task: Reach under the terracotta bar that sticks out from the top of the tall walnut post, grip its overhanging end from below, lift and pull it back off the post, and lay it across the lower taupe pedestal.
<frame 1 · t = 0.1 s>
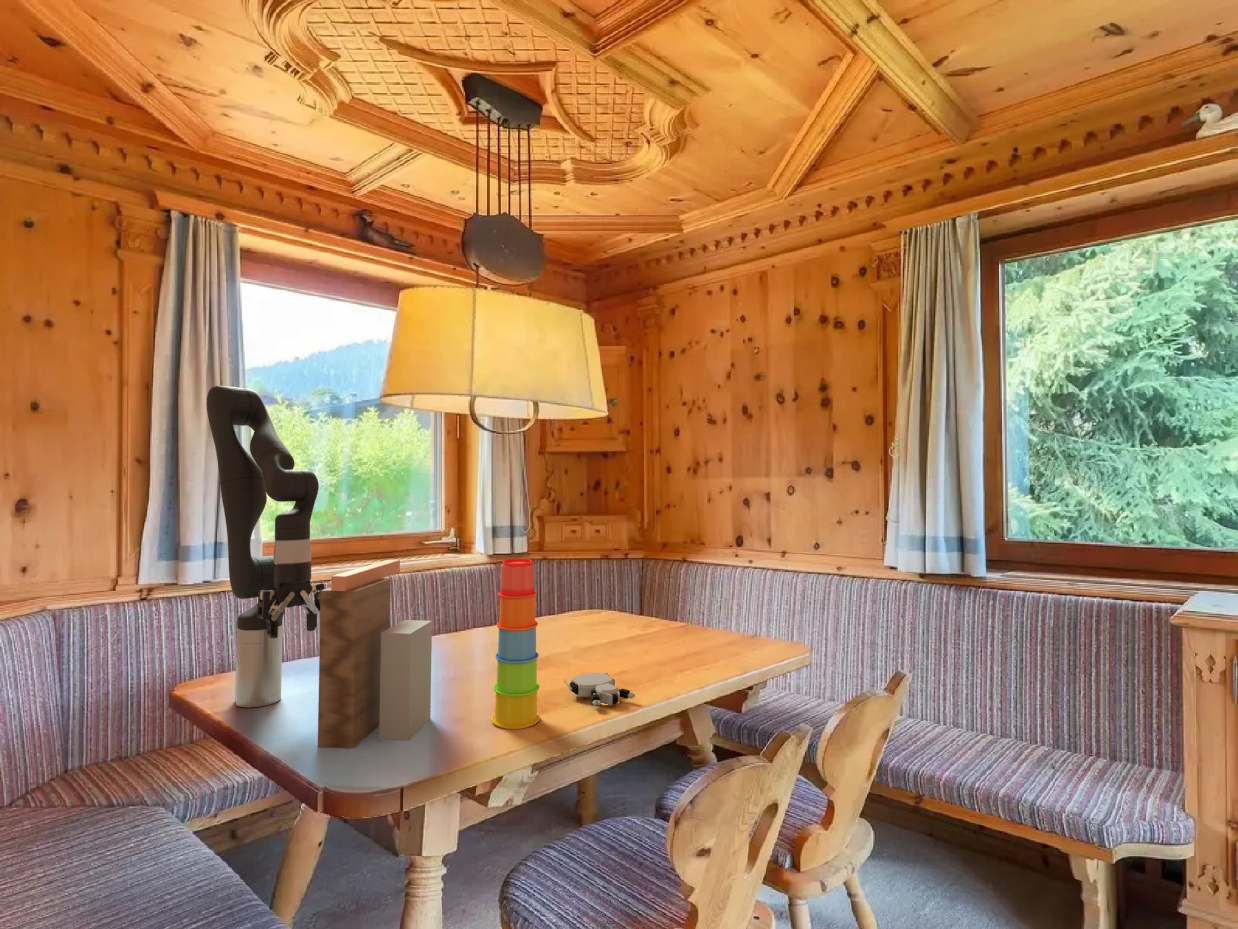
hand: (292, 634, 148), 17 cm above the table, tool pointing down, fingers open, 8 cm apart
taupe pedestal: (405, 728, 139), on the table
walnut post: (354, 732, 137), on the table
terracotta bar: (368, 580, 143), point 30 cm above the table, touching walnut post
robot toy: (599, 701, 159), on the table
stacking cups: (515, 721, 144), on the table
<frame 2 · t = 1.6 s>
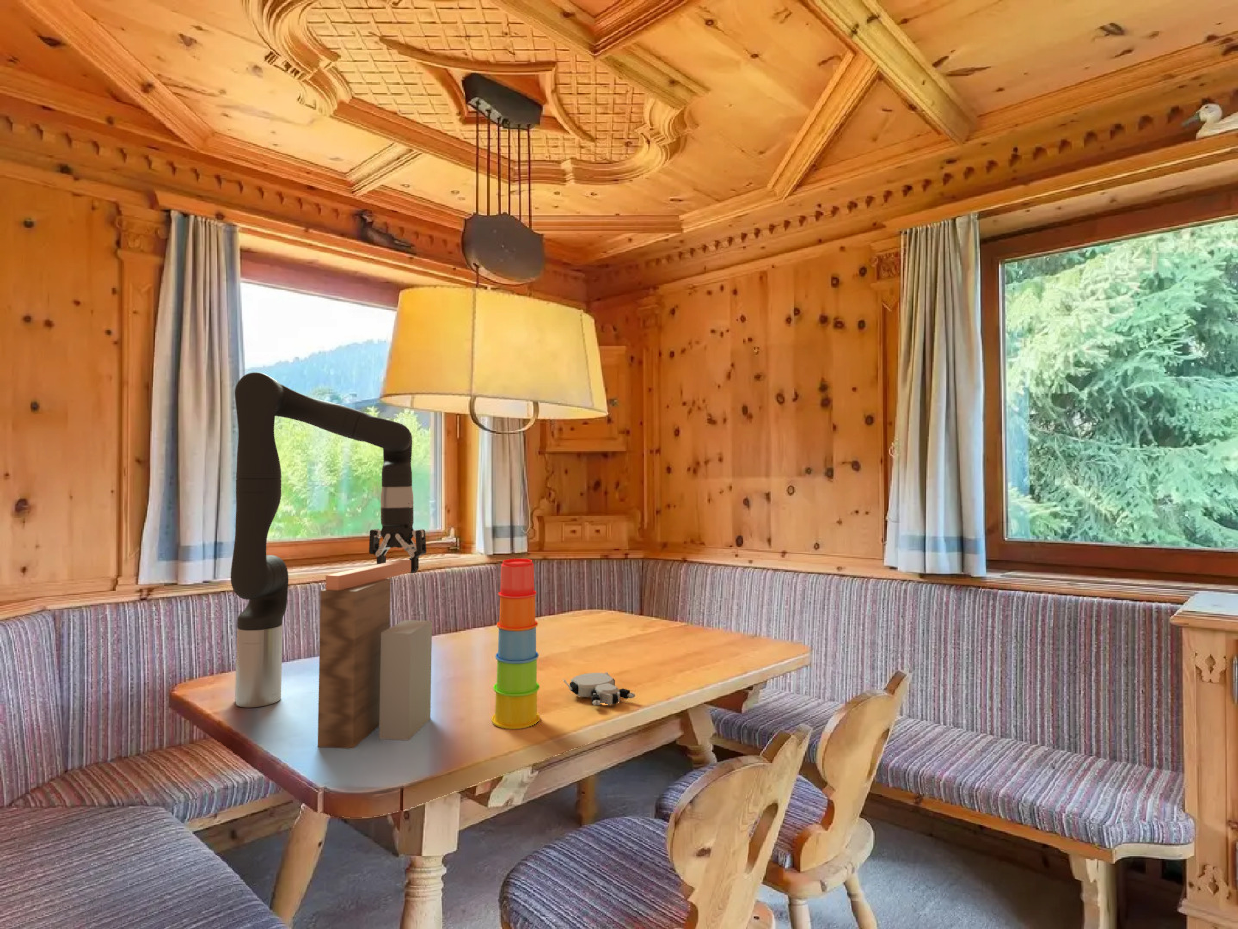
hand: (397, 572, 163), 29 cm above the table, tool pointing down, fingers open, 8 cm apart
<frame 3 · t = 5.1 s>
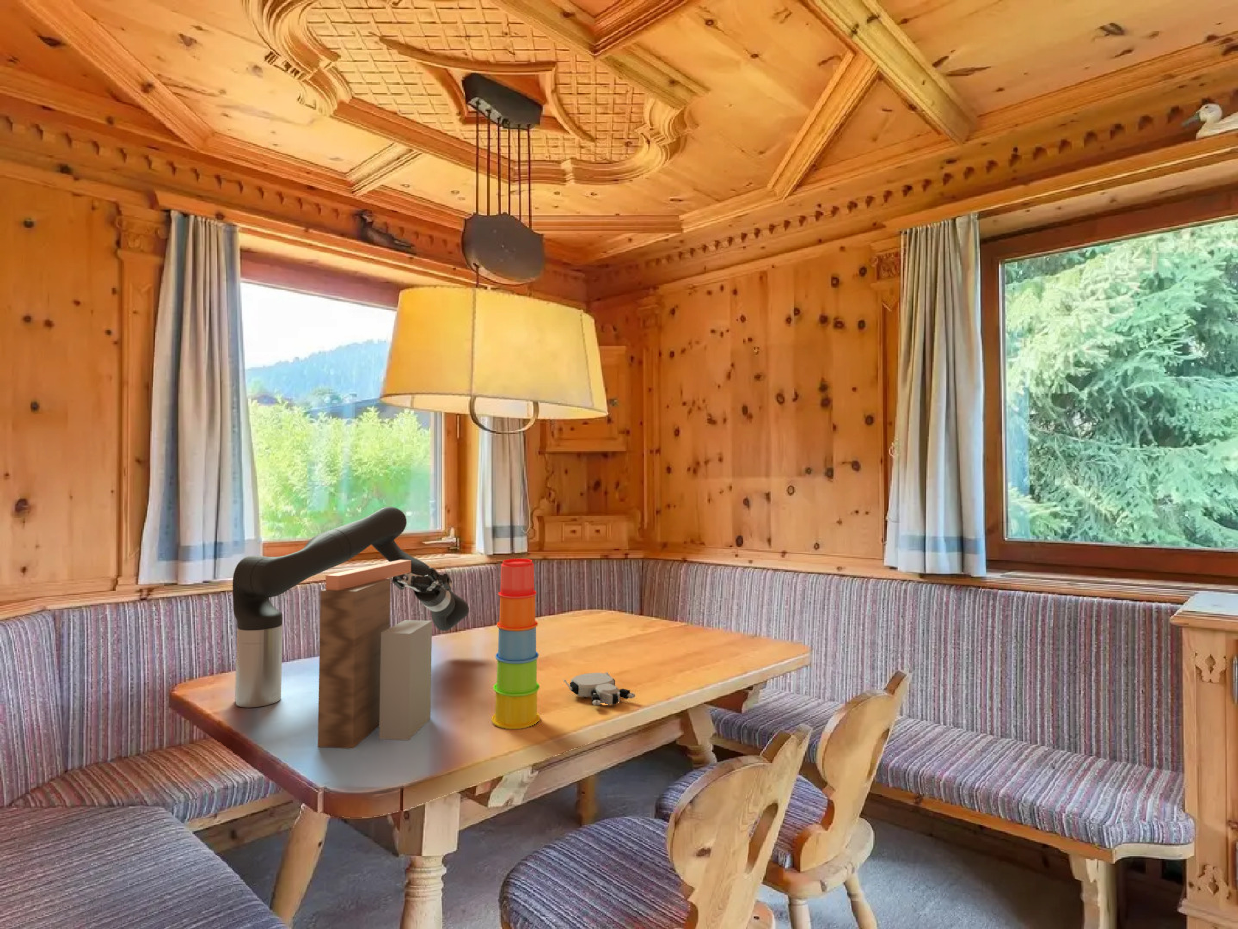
hand: (413, 570, 167), 29 cm above the table, tool pointing upward, fingers open, 8 cm apart
nothing on the table moved.
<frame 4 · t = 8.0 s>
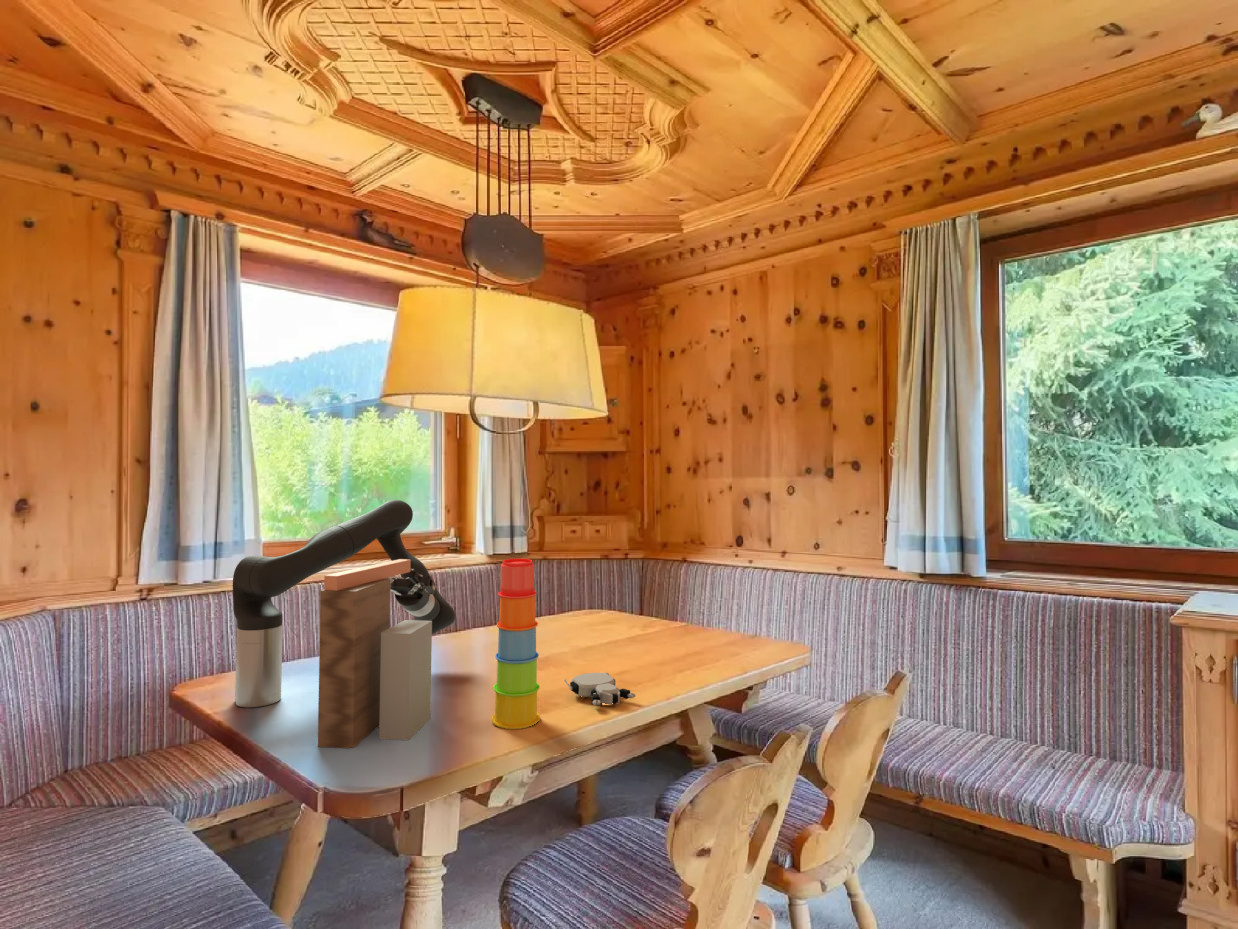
hand: (393, 572, 155), 30 cm above the table, tool pointing upward, fingers open, 8 cm apart
terracotta bar: (371, 580, 143), point 30 cm above the table, touching gripper
everything else where it was.
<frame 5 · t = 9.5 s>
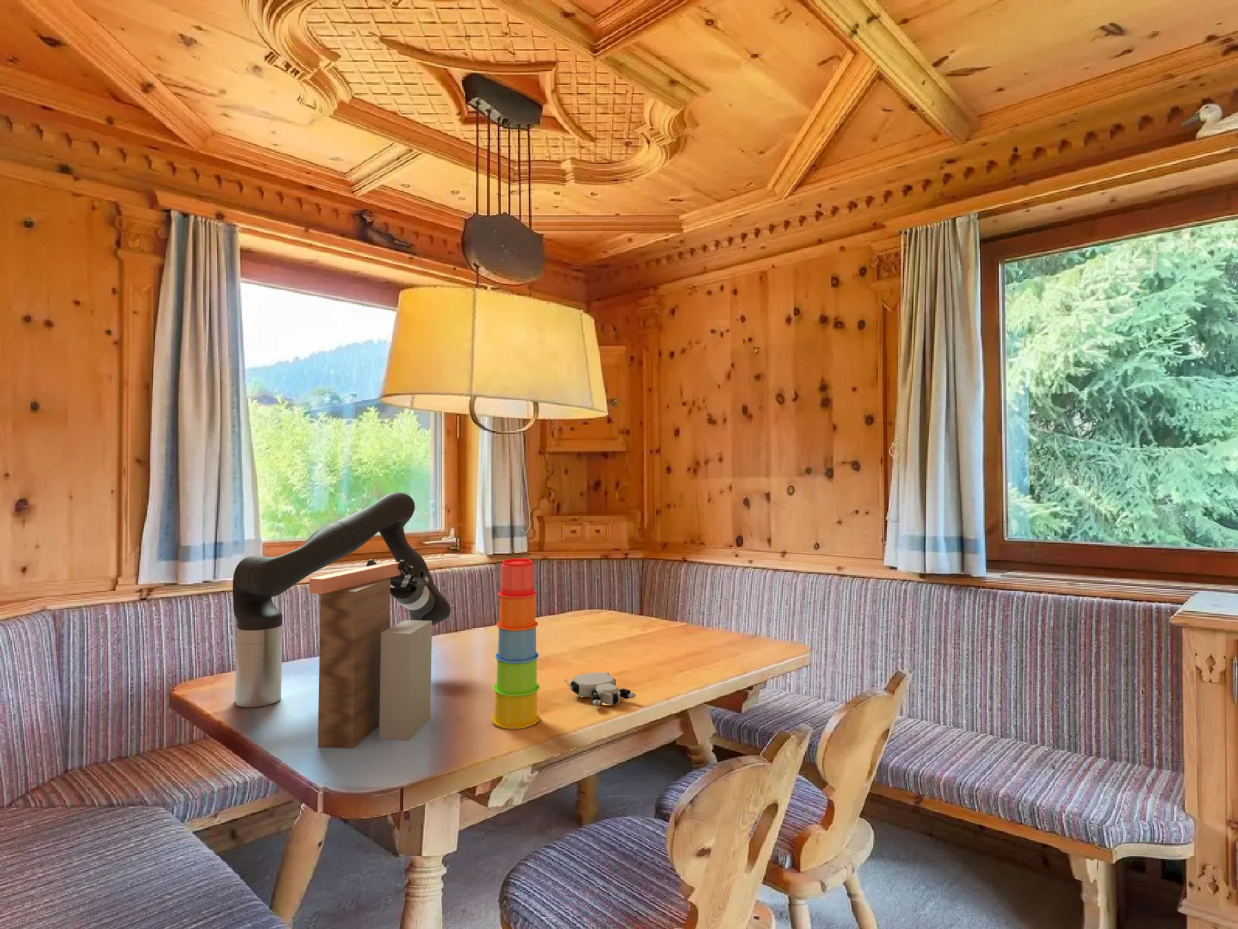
hand: (385, 563, 151), 33 cm above the table, tool pointing upward, fingers open, 6 cm apart
terracotta bar: (359, 583, 139), point 30 cm above the table, touching gripper, walnut post
everything else where it was.
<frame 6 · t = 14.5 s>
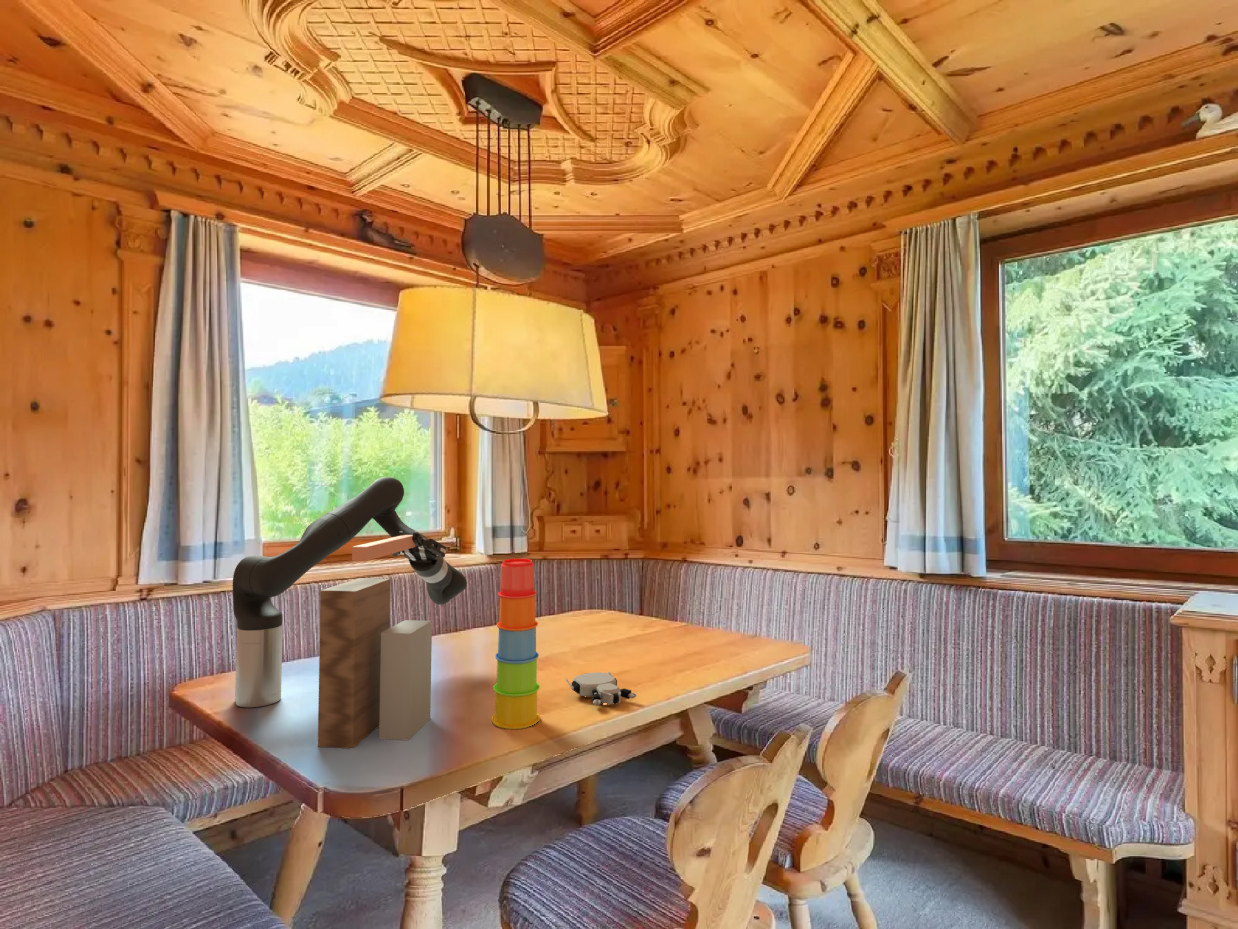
hand: (407, 535, 157), 38 cm above the table, tool pointing upward, fingers closed on terracotta bar, 2 cm apart
terracotta bar: (386, 553, 146), point 35 cm above the table, touching gripper
everything else where it was.
when the fingers open (26 cm above the table, at t = 19.1 s): terracotta bar drops 2 cm, resting on taupe pedestal.
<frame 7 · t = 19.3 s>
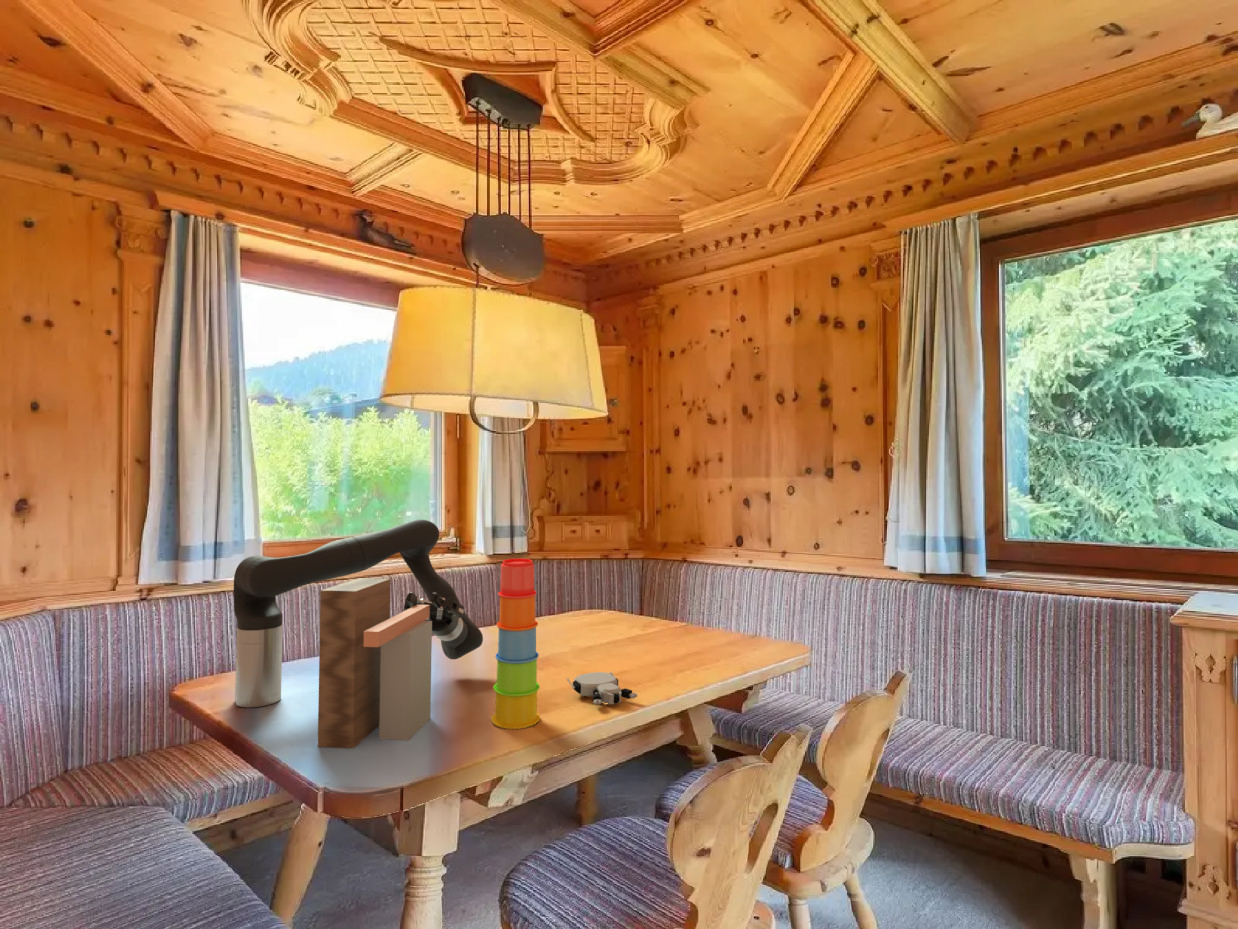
hand: (421, 596, 148), 26 cm above the table, tool pointing upward, fingers open, 4 cm apart
terracotta bar: (399, 630, 136), point 21 cm above the table, touching taupe pedestal
everything else where it was.
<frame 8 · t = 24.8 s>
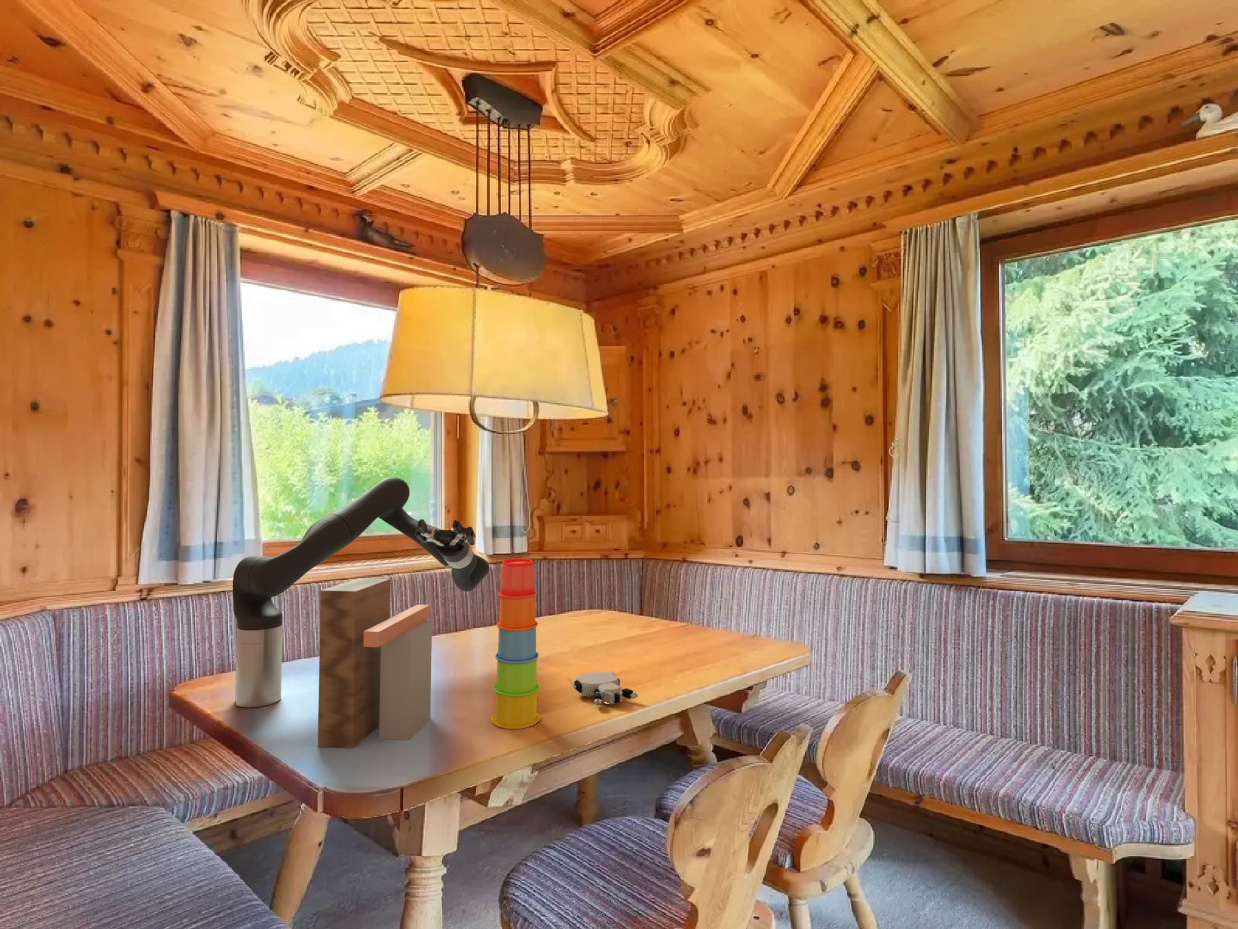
hand: (437, 522, 164), 41 cm above the table, tool pointing upward, fingers open, 8 cm apart
at the end: terracotta bar inside the target area (3.9 cm from its centre), point 21.0 cm above the table; terracotta bar tilted 0°; the gripper is holding nothing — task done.
